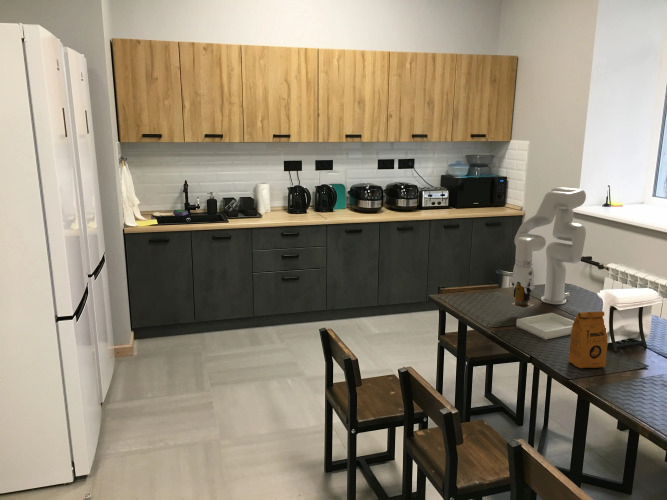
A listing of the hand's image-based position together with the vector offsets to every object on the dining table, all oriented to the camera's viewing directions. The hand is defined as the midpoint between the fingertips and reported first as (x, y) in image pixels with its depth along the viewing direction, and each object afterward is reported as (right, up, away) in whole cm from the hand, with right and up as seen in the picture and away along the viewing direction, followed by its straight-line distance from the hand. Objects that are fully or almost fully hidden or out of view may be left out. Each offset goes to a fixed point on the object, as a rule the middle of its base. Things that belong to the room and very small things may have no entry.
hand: (521, 298), depth 276 cm
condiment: (+1, -3, 0) cm, 3 cm away
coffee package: (+7, -22, -54) cm, 59 cm away
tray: (+7, -13, -15) cm, 21 cm away
